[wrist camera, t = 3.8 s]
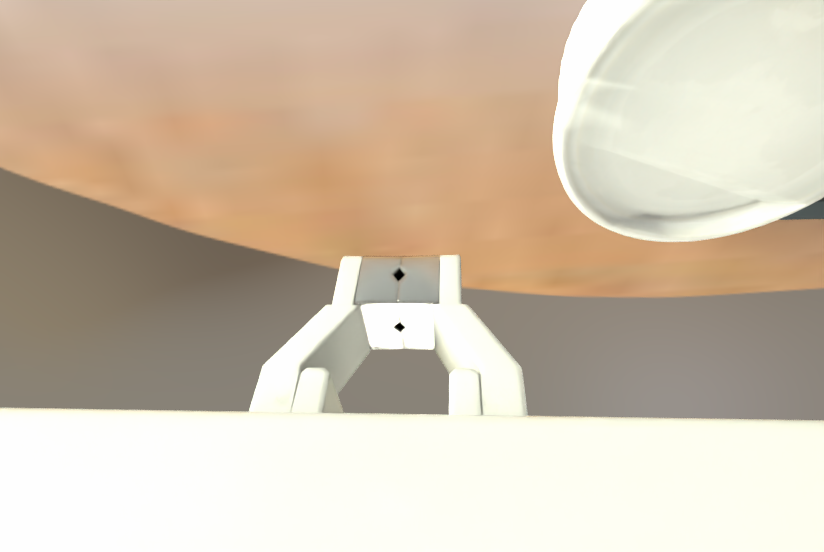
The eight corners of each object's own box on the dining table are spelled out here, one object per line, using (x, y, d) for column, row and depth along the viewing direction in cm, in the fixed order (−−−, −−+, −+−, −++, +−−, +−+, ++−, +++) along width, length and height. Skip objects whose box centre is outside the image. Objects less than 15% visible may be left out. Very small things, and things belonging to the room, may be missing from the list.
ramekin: (546, 188, 24) (564, 265, 20) (521, -72, 16) (543, -17, 12) (804, 139, 21) (875, 218, 18) (929, -202, 13) (1104, -180, 10)
